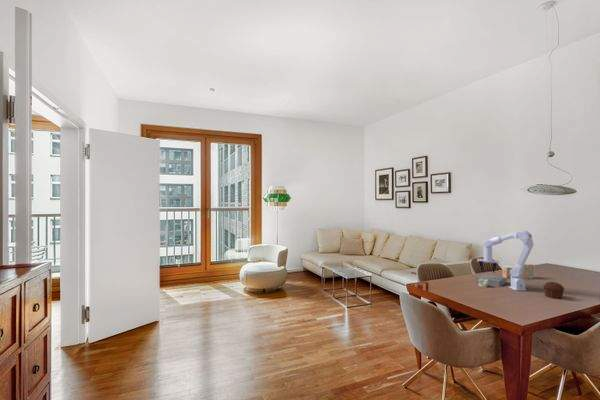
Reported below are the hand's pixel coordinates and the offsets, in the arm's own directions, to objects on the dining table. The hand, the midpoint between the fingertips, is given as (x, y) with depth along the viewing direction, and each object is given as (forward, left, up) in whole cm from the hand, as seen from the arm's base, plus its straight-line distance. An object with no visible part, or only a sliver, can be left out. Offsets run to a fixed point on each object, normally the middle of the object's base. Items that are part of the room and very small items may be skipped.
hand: (487, 271), depth 242 cm
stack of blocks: (+23, -34, -10) cm, 42 cm away
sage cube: (-7, +6, -10) cm, 14 cm away
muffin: (-30, -29, -10) cm, 43 cm away
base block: (+4, -5, -10) cm, 11 cm away
